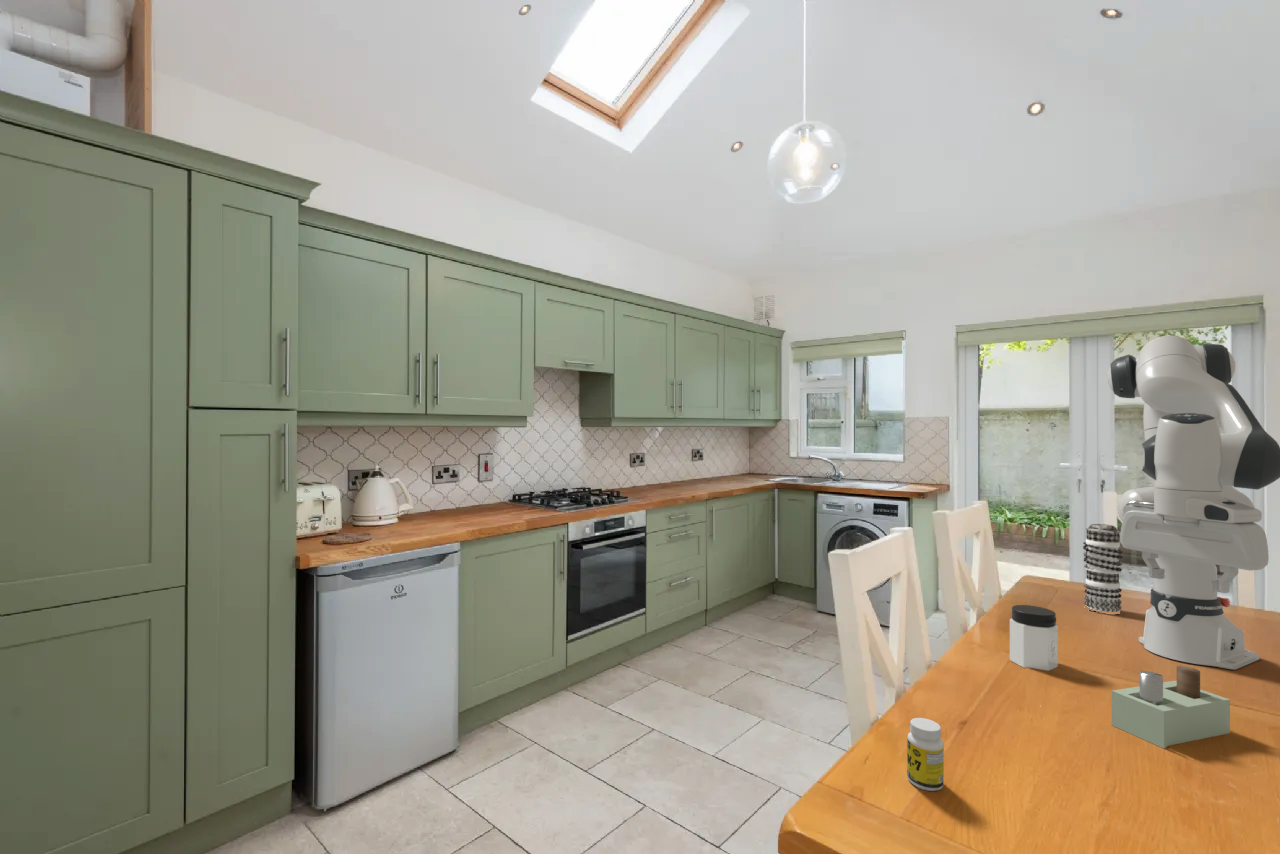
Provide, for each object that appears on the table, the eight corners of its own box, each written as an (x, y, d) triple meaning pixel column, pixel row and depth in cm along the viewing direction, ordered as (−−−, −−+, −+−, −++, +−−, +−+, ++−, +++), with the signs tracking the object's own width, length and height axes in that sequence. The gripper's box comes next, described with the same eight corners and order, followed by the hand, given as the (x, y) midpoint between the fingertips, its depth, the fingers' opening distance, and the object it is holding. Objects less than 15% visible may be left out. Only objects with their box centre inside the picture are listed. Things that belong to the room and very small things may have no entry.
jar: (1045, 675, 124) (1045, 618, 124) (1004, 662, 131) (1004, 608, 131) (1063, 666, 129) (1063, 611, 129) (1023, 654, 136) (1023, 602, 136)
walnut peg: (1184, 721, 104) (1184, 665, 104) (1204, 729, 101) (1204, 671, 101) (1172, 723, 103) (1172, 666, 103) (1192, 732, 100) (1192, 673, 101)
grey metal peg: (1147, 728, 102) (1147, 670, 102) (1167, 736, 99) (1167, 676, 99) (1135, 730, 101) (1135, 671, 101) (1155, 739, 98) (1155, 678, 98)
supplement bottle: (900, 773, 87) (901, 716, 87) (931, 772, 88) (931, 715, 88) (918, 793, 82) (918, 732, 83) (950, 791, 83) (950, 731, 83)
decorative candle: (1074, 607, 175) (1074, 523, 175) (1099, 605, 177) (1099, 522, 178) (1105, 616, 166) (1105, 527, 167) (1131, 614, 168) (1131, 527, 169)
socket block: (1175, 713, 107) (1175, 680, 107) (1230, 735, 100) (1229, 699, 100) (1111, 725, 103) (1111, 690, 103) (1163, 748, 95) (1163, 711, 95)
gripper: (1111, 499, 112) (1111, 572, 112) (1249, 514, 92) (1249, 602, 92) (1135, 498, 114) (1135, 570, 114) (1275, 512, 94) (1275, 599, 94)
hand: (1187, 584), depth 103 cm, fingers open, 8 cm apart
